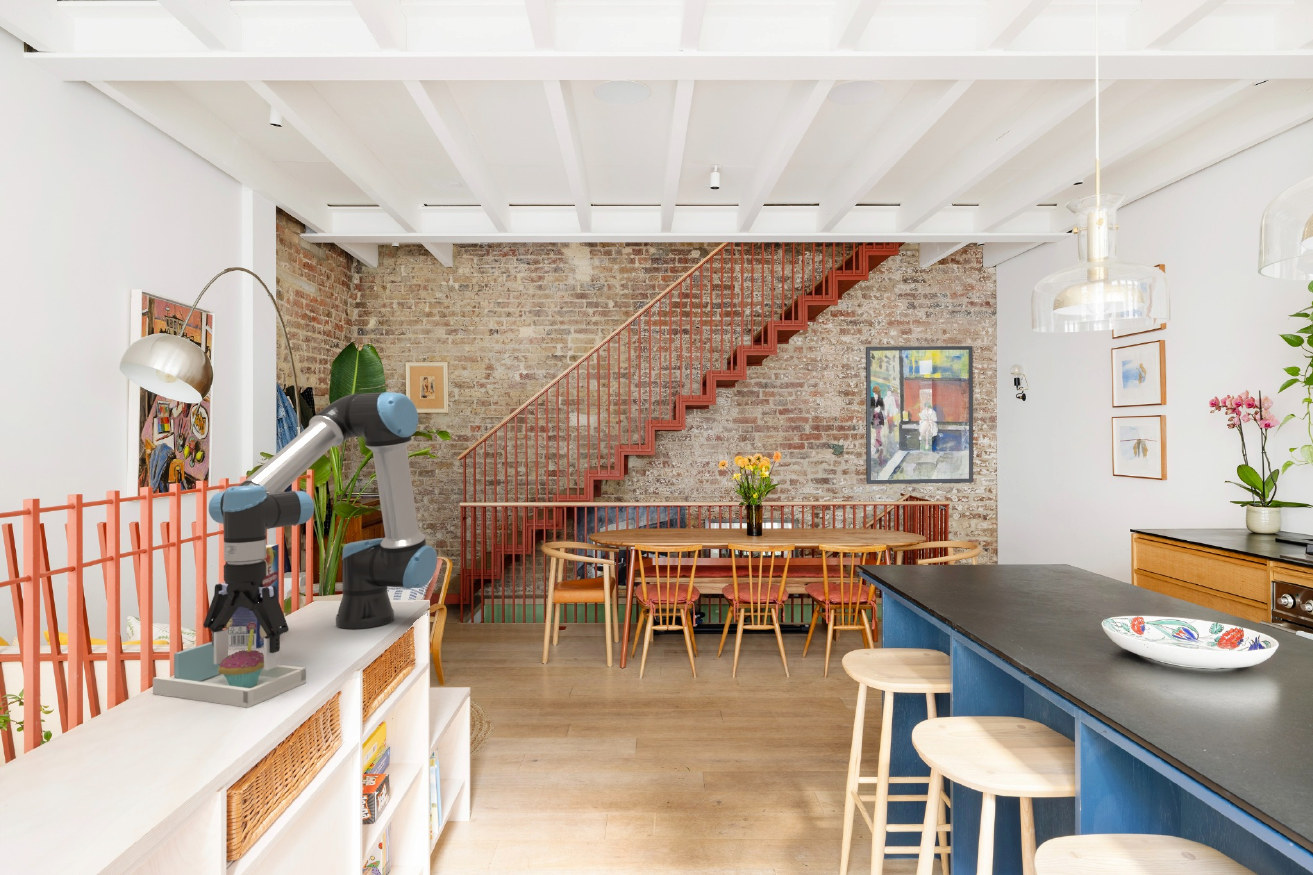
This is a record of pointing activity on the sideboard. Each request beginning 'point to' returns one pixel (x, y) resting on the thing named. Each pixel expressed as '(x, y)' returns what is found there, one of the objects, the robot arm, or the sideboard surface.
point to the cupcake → (243, 666)
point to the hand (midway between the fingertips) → (245, 665)
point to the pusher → (195, 663)
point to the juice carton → (246, 618)
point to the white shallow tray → (233, 687)
